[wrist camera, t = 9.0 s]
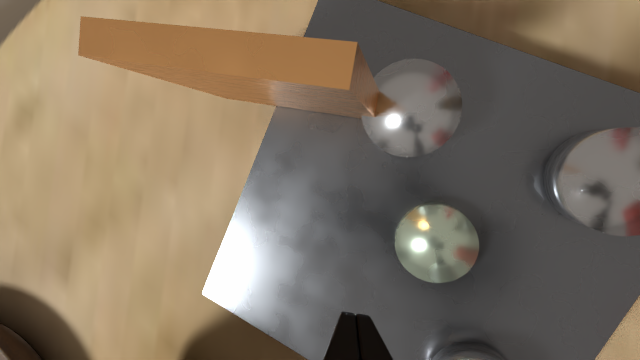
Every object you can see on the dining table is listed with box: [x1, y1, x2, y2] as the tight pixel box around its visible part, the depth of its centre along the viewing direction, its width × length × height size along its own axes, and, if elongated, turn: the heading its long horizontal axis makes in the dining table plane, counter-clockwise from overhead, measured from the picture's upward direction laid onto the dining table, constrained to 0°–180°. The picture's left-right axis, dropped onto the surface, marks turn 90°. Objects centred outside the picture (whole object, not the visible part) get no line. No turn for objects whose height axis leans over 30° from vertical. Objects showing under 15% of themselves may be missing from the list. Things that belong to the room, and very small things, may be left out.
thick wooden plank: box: [78, 17, 462, 157], centre depth 13 cm, size 13×4×9 cm, turn 80°
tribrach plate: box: [202, 0, 640, 360], centre depth 17 cm, size 20×20×4 cm
